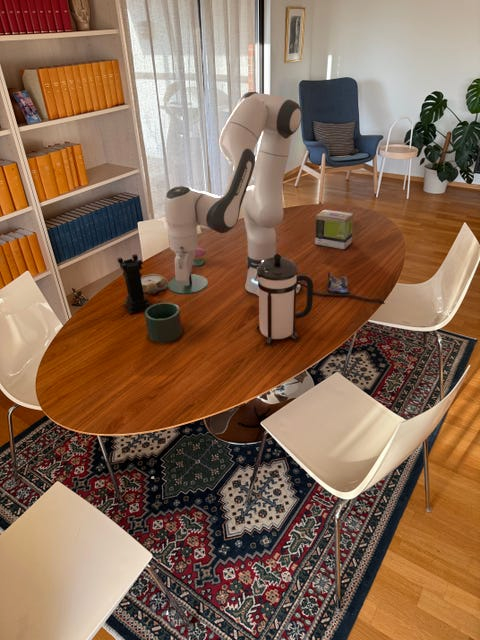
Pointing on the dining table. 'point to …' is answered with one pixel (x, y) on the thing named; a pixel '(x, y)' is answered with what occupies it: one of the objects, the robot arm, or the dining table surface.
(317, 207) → the dining table surface
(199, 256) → the cupcake
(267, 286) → the coffee press
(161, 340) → the green hollow cylinder
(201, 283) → the lid
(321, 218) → the tea box
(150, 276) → the alarm clock
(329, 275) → the snack package
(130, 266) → the chess piece
